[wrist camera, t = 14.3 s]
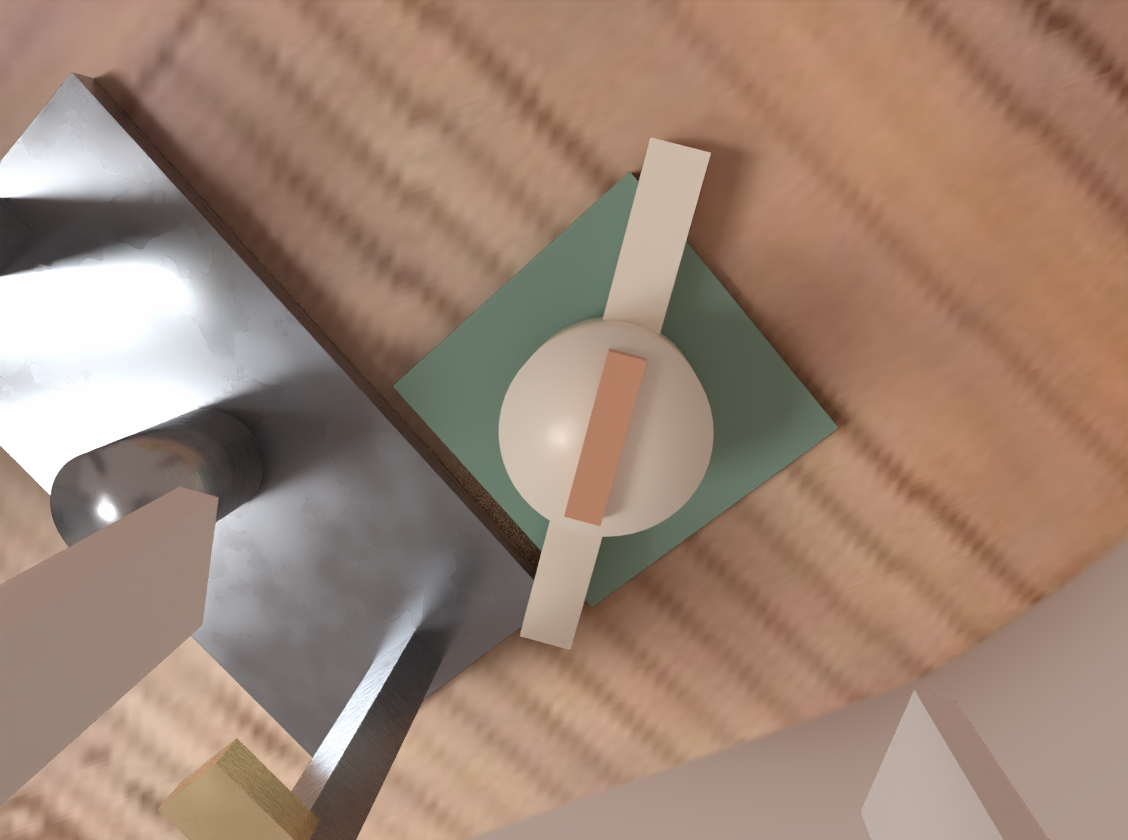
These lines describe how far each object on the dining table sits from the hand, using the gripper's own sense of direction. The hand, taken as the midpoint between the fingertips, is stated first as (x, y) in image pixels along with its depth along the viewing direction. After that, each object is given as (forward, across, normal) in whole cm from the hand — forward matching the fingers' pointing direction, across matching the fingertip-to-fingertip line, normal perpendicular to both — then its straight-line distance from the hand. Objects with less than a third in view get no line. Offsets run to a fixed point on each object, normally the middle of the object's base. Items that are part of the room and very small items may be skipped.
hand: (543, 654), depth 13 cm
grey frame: (+20, -17, -7) cm, 28 cm away
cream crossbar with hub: (+19, 0, 0) cm, 19 cm away
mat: (+20, 0, 0) cm, 20 cm away
